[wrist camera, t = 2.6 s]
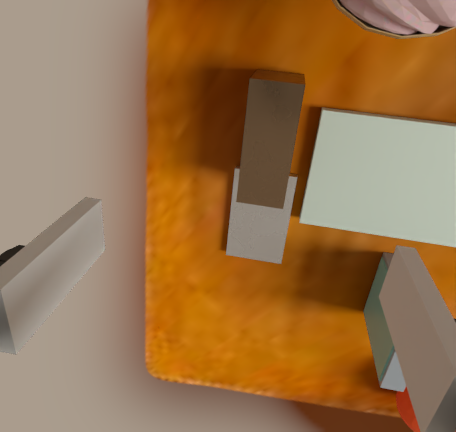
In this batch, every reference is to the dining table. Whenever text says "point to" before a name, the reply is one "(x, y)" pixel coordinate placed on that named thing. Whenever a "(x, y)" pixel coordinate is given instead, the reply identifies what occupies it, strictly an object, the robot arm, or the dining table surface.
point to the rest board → (383, 176)
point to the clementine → (407, 410)
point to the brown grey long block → (266, 167)
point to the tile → (382, 333)
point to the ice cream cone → (401, 16)
